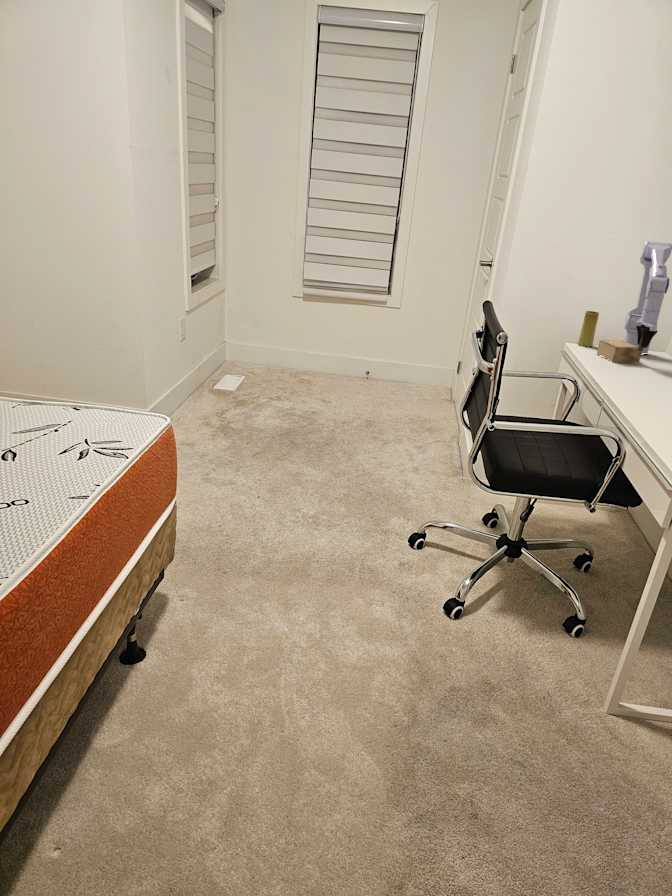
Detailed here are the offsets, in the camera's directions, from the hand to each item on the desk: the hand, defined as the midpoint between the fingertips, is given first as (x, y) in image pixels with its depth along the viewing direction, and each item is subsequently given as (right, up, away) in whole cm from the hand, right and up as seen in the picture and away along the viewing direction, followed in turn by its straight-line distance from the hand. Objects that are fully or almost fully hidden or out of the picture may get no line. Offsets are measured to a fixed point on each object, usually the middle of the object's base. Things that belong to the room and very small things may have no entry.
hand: (642, 346), depth 231 cm
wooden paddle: (-4, -6, +4) cm, 8 cm away
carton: (-5, -3, +11) cm, 12 cm away
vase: (-9, +5, +30) cm, 32 cm away
